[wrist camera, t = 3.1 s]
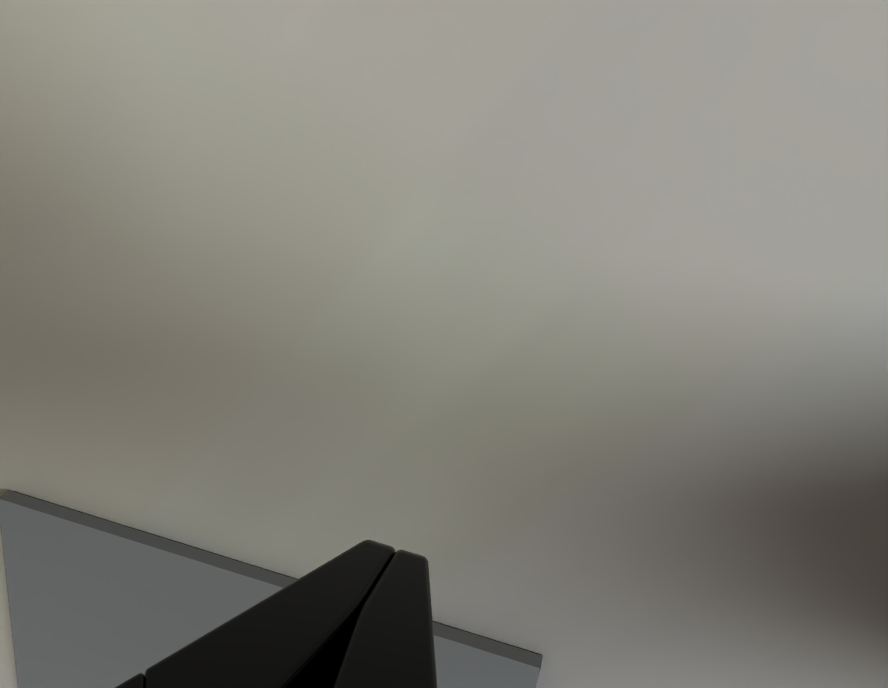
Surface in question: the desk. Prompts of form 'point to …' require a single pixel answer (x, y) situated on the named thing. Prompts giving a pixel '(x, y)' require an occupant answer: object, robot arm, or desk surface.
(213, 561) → the mat
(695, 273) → the desk surface
